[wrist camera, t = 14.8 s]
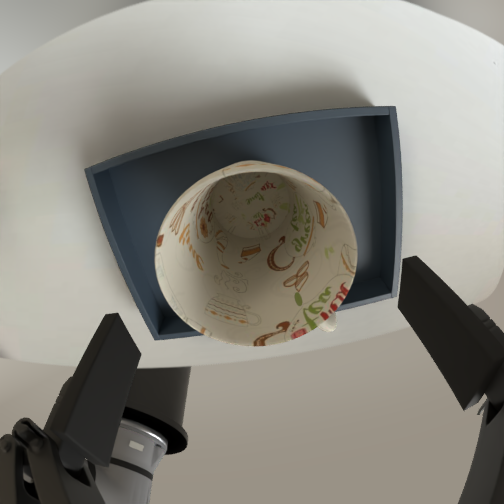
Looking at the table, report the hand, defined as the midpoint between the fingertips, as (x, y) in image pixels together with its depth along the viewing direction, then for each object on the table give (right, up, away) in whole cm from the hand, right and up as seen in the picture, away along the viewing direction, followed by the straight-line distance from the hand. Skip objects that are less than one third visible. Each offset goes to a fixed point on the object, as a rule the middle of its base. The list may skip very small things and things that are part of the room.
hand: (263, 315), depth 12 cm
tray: (0, +5, +10) cm, 11 cm away
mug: (+1, +5, +9) cm, 10 cm away
